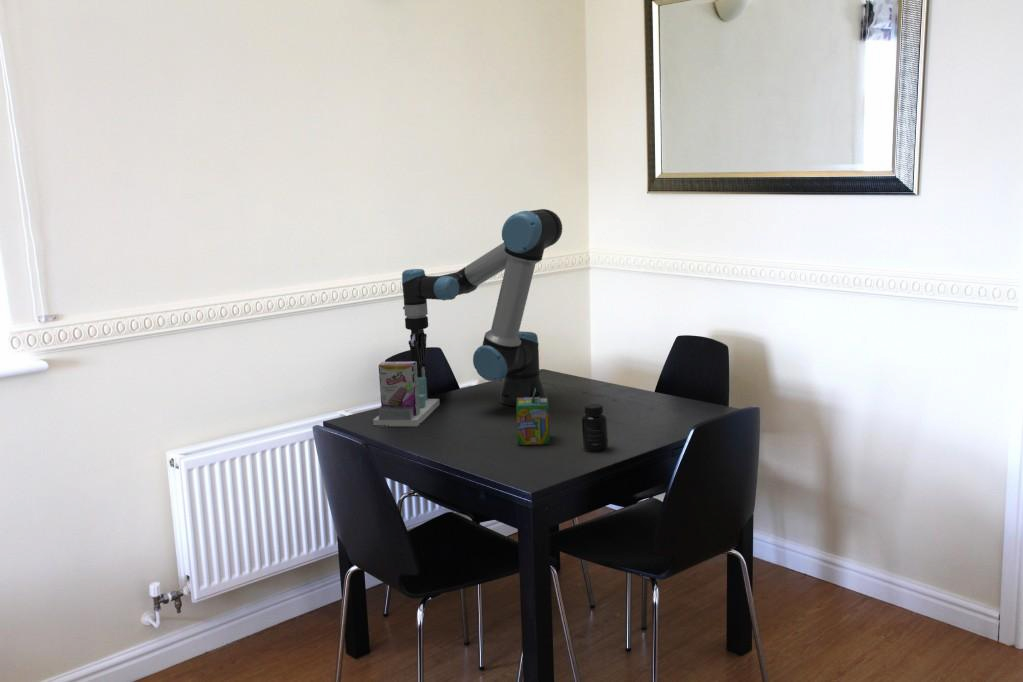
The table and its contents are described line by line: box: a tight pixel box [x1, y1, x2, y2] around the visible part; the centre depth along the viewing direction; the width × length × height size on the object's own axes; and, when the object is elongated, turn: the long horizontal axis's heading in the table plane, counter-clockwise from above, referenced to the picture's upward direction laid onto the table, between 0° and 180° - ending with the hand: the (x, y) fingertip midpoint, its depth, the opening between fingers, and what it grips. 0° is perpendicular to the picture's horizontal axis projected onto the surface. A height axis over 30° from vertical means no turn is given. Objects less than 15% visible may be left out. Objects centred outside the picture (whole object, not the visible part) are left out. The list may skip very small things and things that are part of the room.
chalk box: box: [515, 388, 551, 446], centre depth 260 cm, size 9×9×15 cm
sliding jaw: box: [418, 376, 428, 407], centre depth 301 cm, size 12×10×7 cm
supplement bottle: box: [581, 403, 609, 453], centre depth 250 cm, size 7×7×12 cm
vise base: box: [372, 398, 441, 427], centre depth 295 cm, size 26×14×6 cm, turn 169°
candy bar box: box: [378, 361, 420, 416], centre depth 287 cm, size 11×5×16 cm, turn 82°
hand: (421, 386), depth 310 cm, fingers closed
